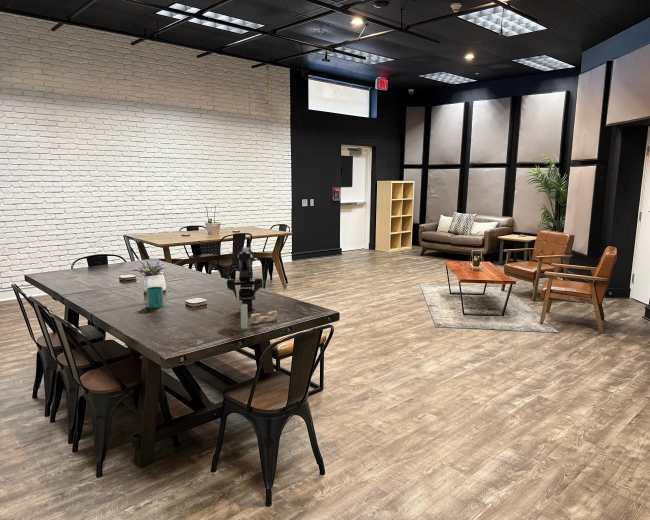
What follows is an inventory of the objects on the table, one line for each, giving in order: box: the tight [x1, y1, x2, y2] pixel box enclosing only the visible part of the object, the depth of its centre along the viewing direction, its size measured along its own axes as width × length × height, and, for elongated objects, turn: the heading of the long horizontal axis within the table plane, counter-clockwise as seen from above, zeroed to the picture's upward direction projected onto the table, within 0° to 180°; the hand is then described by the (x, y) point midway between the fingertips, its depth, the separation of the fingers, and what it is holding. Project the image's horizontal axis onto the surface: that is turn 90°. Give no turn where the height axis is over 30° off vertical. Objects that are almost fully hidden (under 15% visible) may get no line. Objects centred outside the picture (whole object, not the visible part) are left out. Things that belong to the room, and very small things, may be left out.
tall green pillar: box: [240, 303, 249, 330], centre depth 245 cm, size 7×3×11 cm, turn 7°
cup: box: [146, 286, 165, 309], centre depth 284 cm, size 9×12×11 cm
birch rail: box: [250, 310, 278, 324], centre depth 255 cm, size 14×2×4 cm, turn 119°
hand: (244, 297), depth 253 cm, fingers open, 9 cm apart
